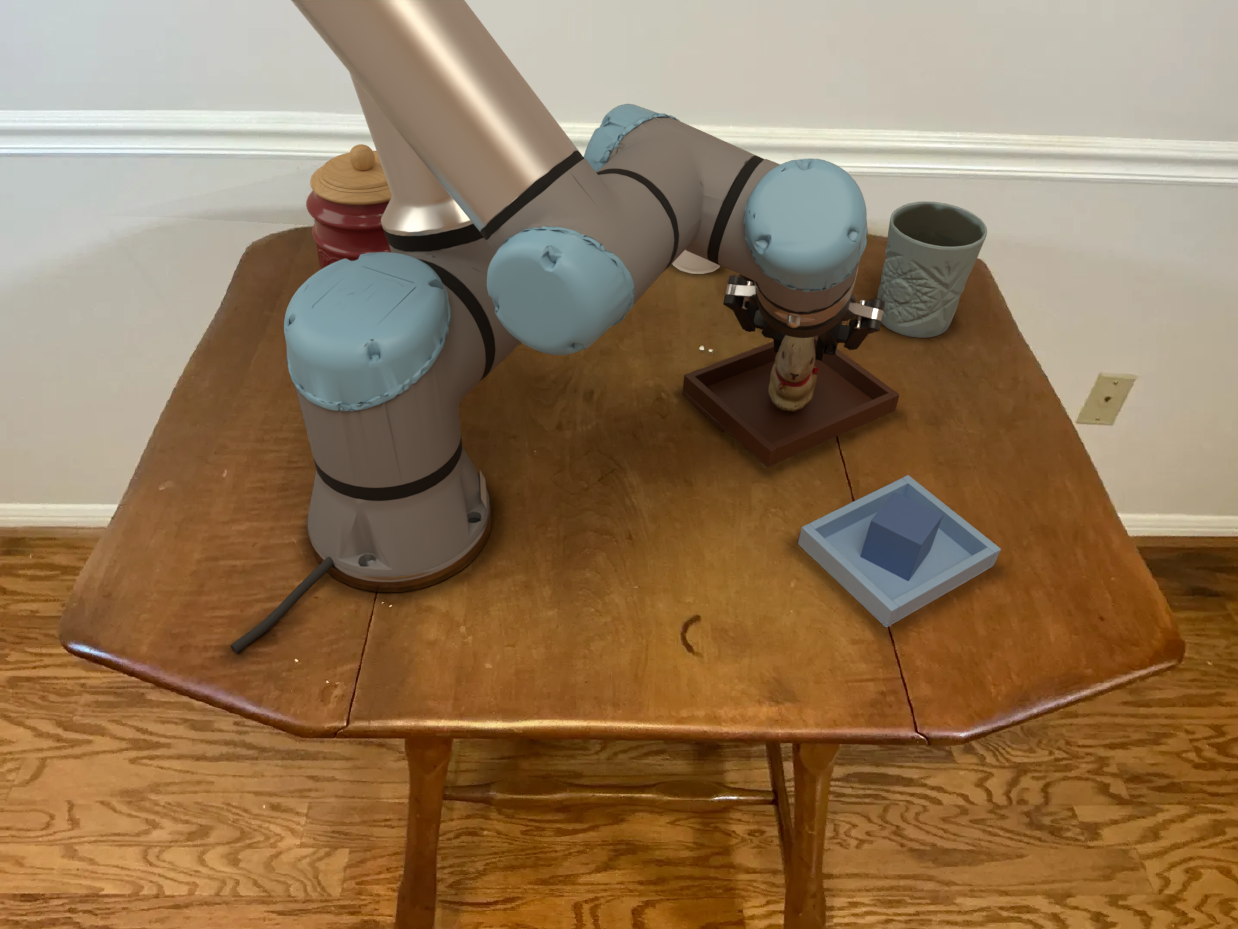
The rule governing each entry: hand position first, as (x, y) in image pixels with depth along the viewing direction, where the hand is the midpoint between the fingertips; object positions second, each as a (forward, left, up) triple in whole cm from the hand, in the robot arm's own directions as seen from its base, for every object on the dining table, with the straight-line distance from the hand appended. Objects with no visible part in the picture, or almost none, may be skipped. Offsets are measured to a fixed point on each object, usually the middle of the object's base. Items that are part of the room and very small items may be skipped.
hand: (800, 343), depth 95 cm
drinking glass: (+20, +2, -5) cm, 21 cm away
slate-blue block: (-9, -24, -4) cm, 25 cm away
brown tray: (-3, -3, -5) cm, 6 cm away
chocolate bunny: (-3, -3, -3) cm, 5 cm away
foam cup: (+6, +25, -5) cm, 27 cm away
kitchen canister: (-30, +37, -5) cm, 48 cm away
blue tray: (-9, -24, -5) cm, 26 cm away
